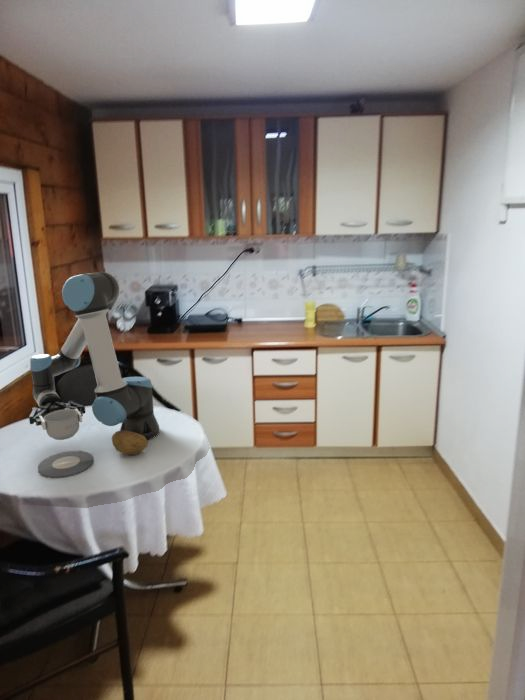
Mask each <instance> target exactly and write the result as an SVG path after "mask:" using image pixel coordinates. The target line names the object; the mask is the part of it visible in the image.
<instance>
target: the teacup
mask: <svg viewBox="0 0 525 700" xmlns="http://www.w3.org/2000/svg"><path fill="white" fill-rule="evenodd" d="M43 419H44V421H45V425H46V430H45V431H46V434H47V436H48V437H50V438H52V439H53V440H55V441H56V440H57V441H64V440H68V439H71V438H72V437H74V436H75V435H76V434H77V433H78V431H79V430H80V422H79V418H78V411H77V410H74V409H70V408H65V409H64V410H58V411H54V412H51V413H49V414H47V415H46V416H44V418H43Z"/></svg>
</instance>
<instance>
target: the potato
mask: <svg viewBox="0 0 525 700" xmlns="http://www.w3.org/2000/svg"><path fill="white" fill-rule="evenodd" d="M111 441H112V445H113V447H114V449H115V450H116V451H117V452H119V453H122V454H124V455H126V456H132V455H137V454H141V453H142V452H143V451H144V450H145V449H146V448H147V446H148V440H146V438H145V437H144V436H143V435H140V434H138V433H134V432H130V431H124V430H122V431H120V430H118V431H116V432H114V433H113V434H112V436H111Z"/></svg>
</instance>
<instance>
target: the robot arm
mask: <svg viewBox="0 0 525 700" xmlns="http://www.w3.org/2000/svg"><path fill="white" fill-rule="evenodd" d="M61 293H62V294H61V296H62V300H63V303H64V304H65V306H66V307H67V308H68V309H70V310H72V311H73V314H74V317H76V318H77V321H76V323H75V324H74V326H73V328H72V330H71V331H70V333H69V335H68V336H67V338H66V340H65V341H64V344H63V345H62V347H61V349H60V351H58V353H57V354H56V355H52V356H51V355H50V354H46V353H43V354H42V353H41V354H35V355H33V356H31V357H30V360H29V361H30V362H29V363H30V365H29V366H30V367H29V368H30V371H31V379H32V389H33V390H32V396H33V399H34V401H35V402H36V403H37V405H38V407H39V408H38V407H34V406H33V407H32V408H31V412H30V414H29V417H28V421H29V425H33V424H34V423H35V425H36V427H39V426H41V428H42V429H43V431H46V425H45V421H44V419H43V418H44V416H46V415H47V414H49V413H51V412H54V411H58V410H64V409H65V408H70V409H74V410H77V411H78V418H79V423H83V415H84V414H86V407H85V405H83V404H80V403H77V402H75V401H73V400H69V401H68V402H67V403H65V402H64V401H63V400H62V398H61V397H60V396H59V395H58V393H57V392H56V386H55V377H56V376H59V375H61V374H64V373H66V372H68V371H72V370H74V369H76V368H77V367H79V366H80V364H81V355H82V353H83V351H84V349H86V348H87V349H88V353H89V358H90V361H91V364H92V369H93V372H94V375H95V380H96V384H97V385H96V387H95V388H94V394H95V395H94V396H95V399H94V401H93V403H92V405H91V410H92V411H91V412H92V414H93V416H94V417H95V419H96V420H97V421H98V422H100V423H101V424H102V425H104V426H107V427H108V426H109V427H115V426H117V425H119V424H121V425H120V430H119V431H122V430H124V431H130V432H134V433H138V434H140V435H143V436H144V437H145V438H146V440H147V441H148V440H151V439H153V437H154V436H156V435H157V434H158V433H159V434H160V432H159V431H160V425H159V423H158V421H157V418H156V416H155V413H154V412H155V411H154V399H153V386H152V385H153V384H152V381H151V379H150V378H148V377H145V376H127V377H122V374H121V370H120V367H119V361H118V359H117V354H116V350H115V347H114V342H113V338H112V334H111V331H110V327H109V322H108V318H107V313H108V312H110V311H111V310H112V309H113V307H114V306H115V304H116V302H117V300H118V298H119V295H120V284H119V283H118V280H117V279H116V278H115V276H113V275H112V274H111V273H109V272H105V271H95V272H90V273H81V274H78V275H74V276H71V277H69V278H68V279H66V281H65V283H64V284H63V286H62V289H61ZM86 346H87V347H86ZM159 434H158V435H159ZM158 435H157V436H158ZM157 436H156V437H157ZM150 438H151V439H150ZM154 438H155V437H154Z"/></svg>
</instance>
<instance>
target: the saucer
mask: <svg viewBox="0 0 525 700" xmlns="http://www.w3.org/2000/svg"><path fill="white" fill-rule="evenodd" d="M94 462H95V460H94V456H93V454H91V453H90V452H87V451H82V450H71V451H64V452H58V453H56V454H52V455H50V456H48V457H46V458H45V459H42V461H41V462H39V464H38V465H37V471H38V473H40V474H41V475H40V474H39V475H40V476H42V475H43V476H42V477H44V476H45V477H46V478H48V477H50V479H60V478H61V479H62V478H69V477H72V476H75V475H79V474H81V473H84V472H86V471H88V469H90V468H91V467H92V466H93V465H94ZM45 477H44V478H45Z"/></svg>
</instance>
